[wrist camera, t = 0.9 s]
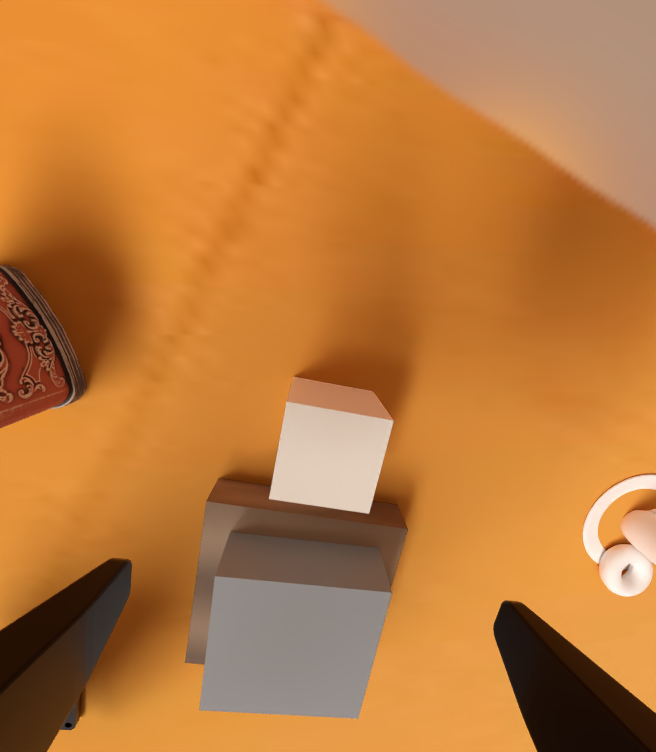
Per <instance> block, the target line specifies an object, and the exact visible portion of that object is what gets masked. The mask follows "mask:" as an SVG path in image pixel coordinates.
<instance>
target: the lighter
mask: <svg viewBox="0 0 656 752" xmlns="http://www.w3.org/2000/svg"><path fill="white" fill-rule="evenodd" d="M85 389H86V384H85V379H84V376H83V373H82V370H81V368H80V365H79V362H78V359H77V356H76V354H75V351H74V349H73V347H72V345H71V343H70V341H69V339H68V337H67V335H66V333H65V330H64V328H63V327H62V325H61V324H60V322H59V320H58V319H57V317H56V316H55V314H54V313H53V311H52V309H51V308H50V306H49V305H48V303H47V302H46V300H45V299H44V298H43V296H42V295H41V294H40V293H39V291H38V290H37V289H36V288H35V286H34V285H33V284H32V283H31V281H30V280H29V279H28V278H27V276H26V275H25V274H24V273H23V272H21V271H20V270H19V269H17V268H15V267H12V266H8V265H0V428H2V427H5V426H7V425H10V424H12V423H15V422H17V421H20V420H22V419H25V418H27V417H30V416H32V415H35V414H37V413H40V412H42V411H45V410H47V409H55V408H60V407H63V406H66V405H68V404H71V403H73V402H75V401H77V400H78V399H80V398H81V397H82V395H83V394H84V392H85Z"/></svg>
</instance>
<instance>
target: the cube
mask: <svg viewBox="0 0 656 752" xmlns="http://www.w3.org/2000/svg"><path fill="white" fill-rule="evenodd" d="M393 422H394V420H393V419H392V417H391V416H390V415H389V413H388V412H387V410H386V409H385V407H384V406H383V405H382V403H381V402H380V400H379V399H378V397H377V396H376V395H375V393H374V392H373V391H369V390H364V389H358V388H353V387H347V386H342V385H337V384H331V383H326V382H320V381H315V380H310V379H304V378H299V377H293V379H292V383H291V387H290V391H289V395H288V399H287V403H286V408H285V414H284V419H283V425H282V430H281V436H280V441H279V447H278V452H277V457H276V463H275V468H274V474H273V479H272V485H271V490H270V496H269V499H272V500H279V501H286V502H293V503H300V504H306V505H313V506H320V507H327V508H334V509H340V510H347V511H354V512H361V513H368V514H369V512H370V508H371V505H372V501H373V497H374V493H375V490H376V486H377V482H378V478H379V475H380V471H381V467H382V463H383V459H384V456H385V452H386V448H387V444H388V441H389V437H390V433H391V429H392V426H393Z"/></svg>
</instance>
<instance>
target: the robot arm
mask: <svg viewBox="0 0 656 752" xmlns="http://www.w3.org/2000/svg"><path fill="white" fill-rule="evenodd" d="M131 570H132V563H131V561H130V560H128V559H120V558H111V559H109V560H107V561H106V562H104V563H103V564H101V565H99V566H98V567H96V568H95V569H93V570H92V571H90V572H89V573H87V574H86V575H84V576H83V577H81V578H80V579H78V580H77V581H75V582H74V583H72V584H70V585H69V586H67V587H66V588H64V589H63V590H61V591H60V592H58V593H57V594H55V595H54V596H52V597H51V598H49V599H48V600H46V601H45V602H43V603H41V604H40V605H38V606H37V607H35V608H34V609H32V610H31V611H29V612H28V613H26V614H25V615H23V616H22V617H20V618H19V619H17V620H16V621H14V622H12V623H11V624H9V625H8V626H6V627H5V628H3V629H2V630H0V752H47V750H48V749H49V747H50V745H51V744H52V742H53V740H54V739H55V737H56V735H57V734H58V732H59V730H60V729H61V730H72V729H74V728H75V726H76V724H77V723H78V721H79V712H80V694H81V692H82V690H83V689H84V687H85V685H86V683H87V681H88V679H89V677H90V675H91V673H92V671H93V669H94V667H95V665H96V663H97V661H98V659H99V657H100V655H101V653H102V651H103V649H104V647H105V644H106V642H107V640H108V638H109V636H110V634H111V632H112V630H113V628H114V626H115V624H116V622H117V620H118V618H119V616H120V614H121V612H122V610H123V608H124V606H125V604H126V601H127V599H128V596H129V593H130V588H131ZM493 630H494V636H495V640H496V643H497V645H498V648H499V651H500V654H501V657H502V660H503V662H504V665H505V668H506V671H507V674H508V677H509V680H510V682H511V685H512V688H513V691H514V694H515V697H516V700H517V702H518V705H519V708H520V711H521V713H522V716H523V719H524V721H525V723H526V726H527V728H528V731H529V733H530V736H531V738H532V740H533V743H534V745H535V747H536V750H537V752H656V713H655V712H653V711H652V710H651V709H650V708H649V707H647V706H646V705H645V704H644V703H643V702H641V701H640V700H639V699H638V698H637V697H635V696H634V695H633V694H632V693H630V692H629V691H628V690H627V689H626V688H624V687H623V686H622V685H621V684H620V683H618V682H617V681H616V680H615V679H614V678H612V677H611V676H610V675H609V674H607V673H606V672H605V671H604V670H603V669H601V668H600V667H599V666H598V665H597V664H595V663H594V662H593V661H592V660H591V659H589V658H588V657H587V656H586V655H585V654H583V653H582V652H581V651H580V650H578V649H577V648H576V647H575V646H574V645H572V644H571V643H570V642H569V641H568V640H566V639H565V638H564V637H563V636H562V635H560V634H559V633H558V632H557V631H556V630H554V629H553V628H552V627H551V626H549V625H548V624H547V623H546V622H545V621H543V620H542V619H541V618H540V617H539V616H537V615H536V614H535V613H534V612H533V611H531V610H530V609H529V608H528V607H527V606H525V605H524V604H523V603H521V602H517V601H507V600H506V601H504V602H503V603H502V604H501V607H500V609H499V612H498V615H497V617H496V620H495V623H494V627H493Z"/></svg>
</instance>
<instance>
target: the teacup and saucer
mask: <svg viewBox="0 0 656 752" xmlns="http://www.w3.org/2000/svg"><path fill="white" fill-rule="evenodd" d="M637 489H654V490H656V475H655V474H647V475H639V476H635V477H631V478H628V479H626V480H624V481H621V482H619V483H618V484H616V485H614V486H613V487H611V488H610V489H608V490H607V491H606V492H605V493H604V494H603V495H602V496H601V497H600V498H599V499H598V500H597V501H596V502H595V503H594V505H593V506H592V508H591V509H590V511H589V513H588V515H587V517H586V520H585V523H584V527H583V543H584V546H585V549H586V551H587V553H588V554H589V556H590V557H591V558H592V559H593V560H594V561H595V562H596V563H598V564H599V574H600V577H601V579H602V581H603V583H604V584H605V585H606V586H607V588H608V589H609V590H611V591H612V592H614V593H616V594H618V595H621V596H634V595H637V594H639V593H641V592H642V591H643V590H644V589H645V588H646V587H647V586H648V585H649V583H650V582H651V579H652V575H653V567H652V563H654V564H655V565H656V509H652V510H648V511H645V510H634V511H631V512H629V513H628V514H626V515H625V516H624V517H623V519H622V520H621V523H620V529H621V531H622V533H623V534H624V536H625V537H626V538H627V540H628V541H629V542H630V543H631V544H632V545H630V544H628V545H627V544H619V545H615V546H613V547H611V548H609V549H608V550H607V551H606V550H605V549H604V548H603V547H602V545H601V544H600V542H599V539H598V524H599V521H600V518H601V516H602V514H603V513H604V511H605V510H606V508H607V507H608V506H609V505H610V504H611V503H612V502H613V501H614V500H616V499H617V498H618V497H620V496H622V495H623V494H625V493H628V492H630V491H633V490H637ZM622 570H628V571H627V572H626V573H625V574H624V575H622V576H621V574H622Z"/></svg>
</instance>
